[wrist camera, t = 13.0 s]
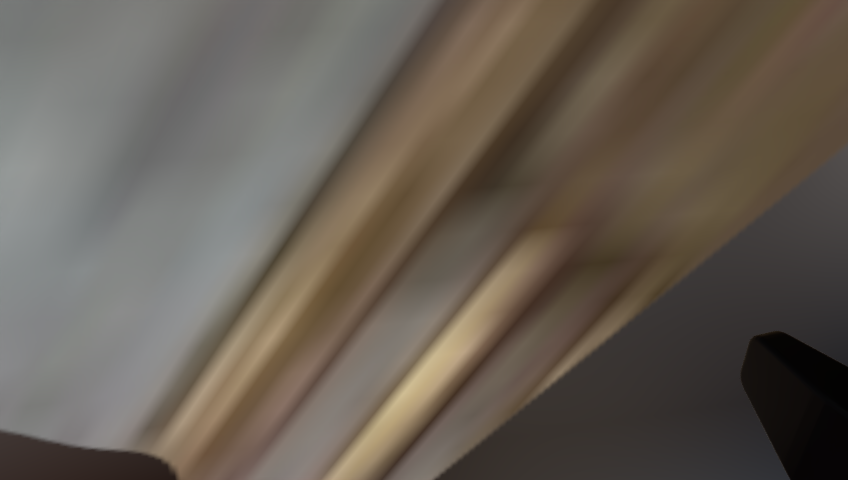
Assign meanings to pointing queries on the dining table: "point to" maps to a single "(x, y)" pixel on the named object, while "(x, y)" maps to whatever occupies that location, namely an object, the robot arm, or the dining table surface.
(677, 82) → the dining table surface
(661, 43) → the dining table surface
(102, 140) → the dining table surface
